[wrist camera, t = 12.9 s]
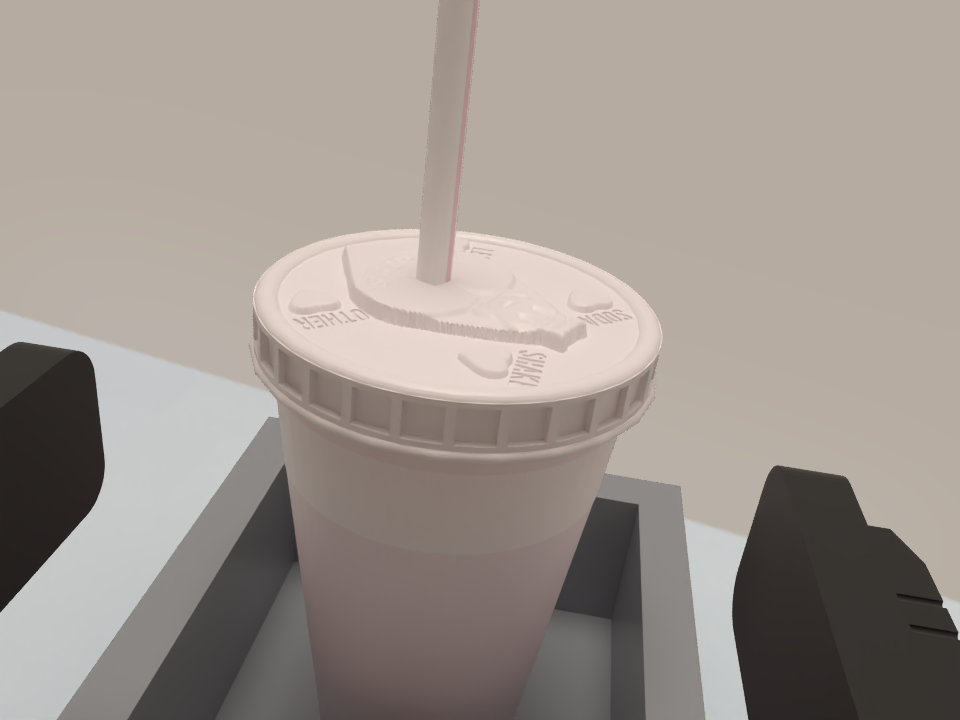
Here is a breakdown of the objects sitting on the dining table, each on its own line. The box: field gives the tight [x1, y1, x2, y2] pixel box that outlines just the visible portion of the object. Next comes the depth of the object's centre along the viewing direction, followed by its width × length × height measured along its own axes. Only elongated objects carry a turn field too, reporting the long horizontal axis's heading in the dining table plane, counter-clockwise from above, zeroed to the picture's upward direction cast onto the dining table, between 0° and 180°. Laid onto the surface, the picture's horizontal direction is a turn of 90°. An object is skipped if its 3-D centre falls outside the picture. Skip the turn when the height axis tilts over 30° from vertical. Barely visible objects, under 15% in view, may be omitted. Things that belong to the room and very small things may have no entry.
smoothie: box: [249, 0, 663, 720], centre depth 15 cm, size 6×6×14 cm
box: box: [57, 417, 705, 720], centre depth 18 cm, size 10×10×4 cm
